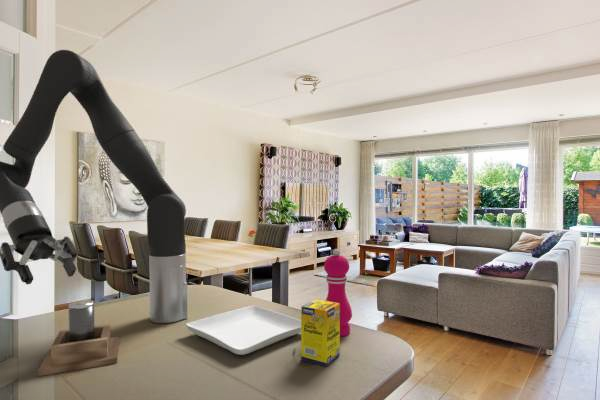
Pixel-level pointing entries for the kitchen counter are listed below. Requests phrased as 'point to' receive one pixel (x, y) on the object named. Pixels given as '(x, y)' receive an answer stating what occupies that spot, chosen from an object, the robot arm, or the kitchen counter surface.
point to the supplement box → (320, 332)
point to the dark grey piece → (81, 321)
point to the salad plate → (246, 328)
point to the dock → (80, 352)
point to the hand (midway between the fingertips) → (52, 277)
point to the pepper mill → (338, 287)
